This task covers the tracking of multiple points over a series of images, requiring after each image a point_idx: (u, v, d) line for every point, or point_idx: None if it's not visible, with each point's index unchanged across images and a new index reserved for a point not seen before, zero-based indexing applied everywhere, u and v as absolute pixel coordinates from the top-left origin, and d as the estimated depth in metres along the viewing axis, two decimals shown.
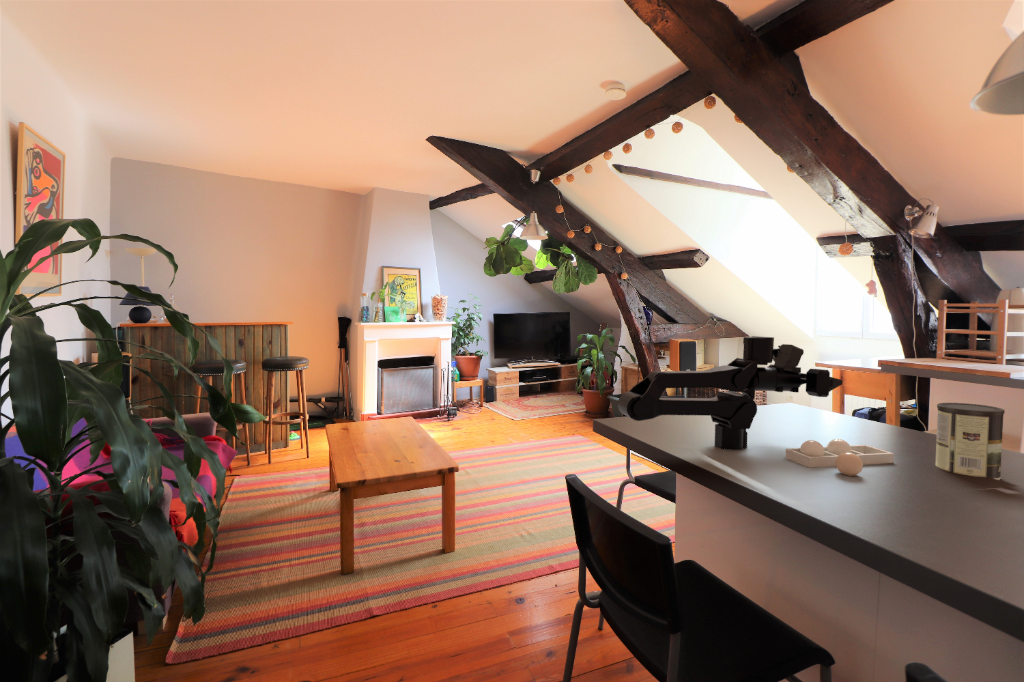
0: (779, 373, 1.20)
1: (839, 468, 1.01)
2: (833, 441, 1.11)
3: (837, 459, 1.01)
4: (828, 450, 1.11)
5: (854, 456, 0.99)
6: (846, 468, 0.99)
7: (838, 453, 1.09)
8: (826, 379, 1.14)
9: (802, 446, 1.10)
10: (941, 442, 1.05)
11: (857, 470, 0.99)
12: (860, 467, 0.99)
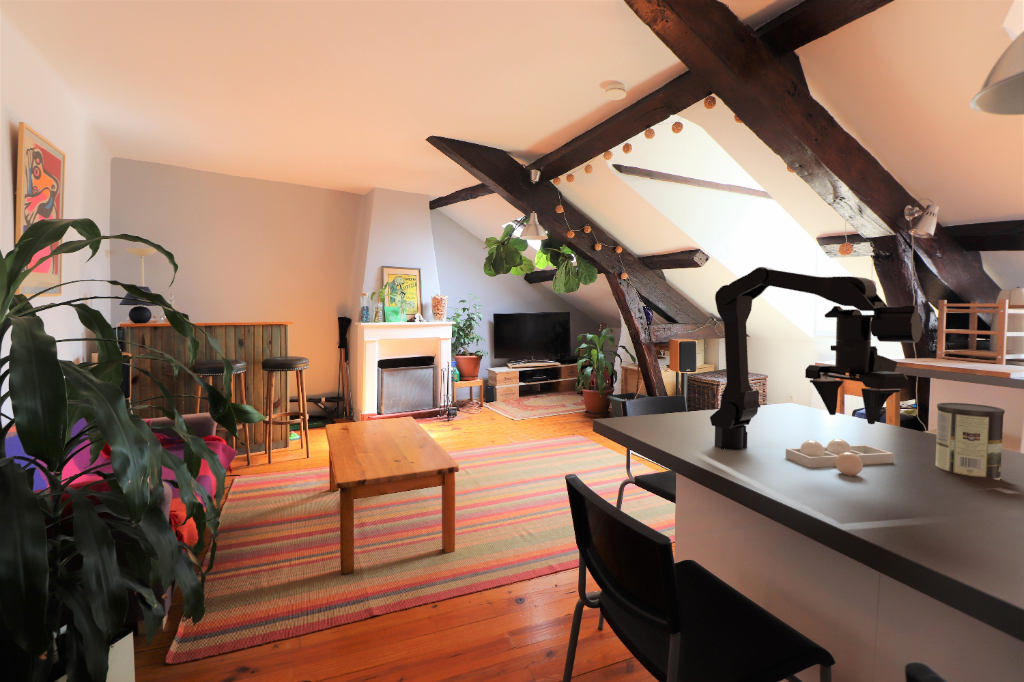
0: (870, 345, 0.98)
1: (839, 468, 1.01)
2: (833, 441, 1.11)
3: (837, 459, 1.01)
4: (828, 450, 1.11)
5: (854, 456, 0.99)
6: (846, 468, 0.99)
7: (838, 453, 1.09)
8: (900, 384, 0.91)
9: (802, 446, 1.10)
10: (941, 442, 1.05)
11: (857, 470, 0.99)
12: (860, 467, 0.99)
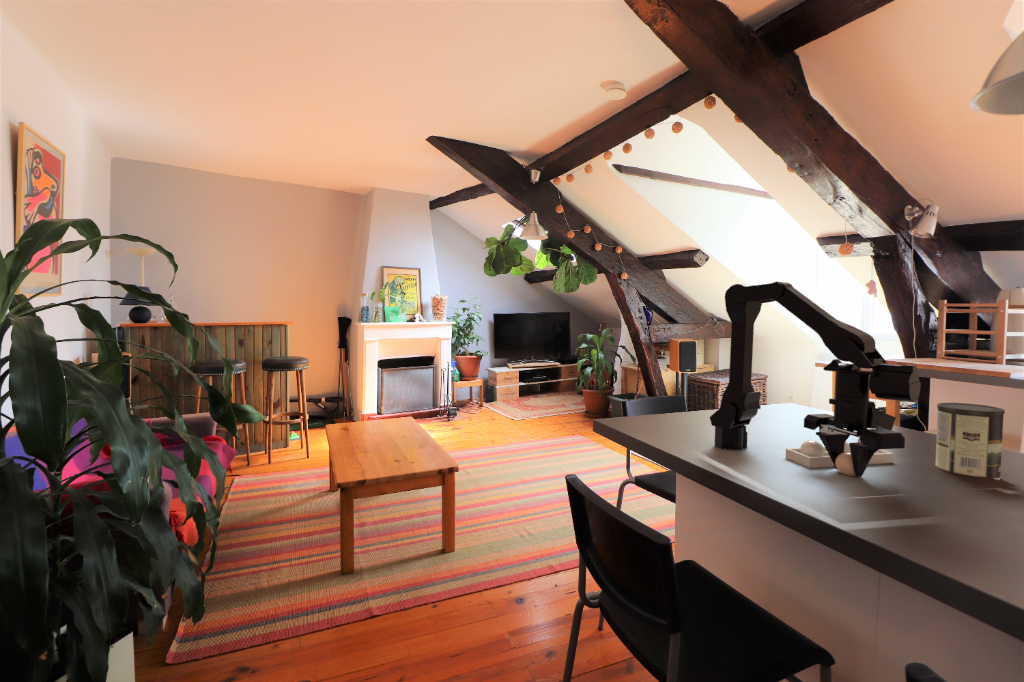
0: (868, 401, 0.98)
1: (839, 468, 1.01)
2: None
3: (837, 459, 1.01)
4: None
5: None
6: (846, 468, 0.99)
7: None
8: (897, 444, 0.91)
9: (802, 446, 1.10)
10: (941, 442, 1.05)
11: None
12: None
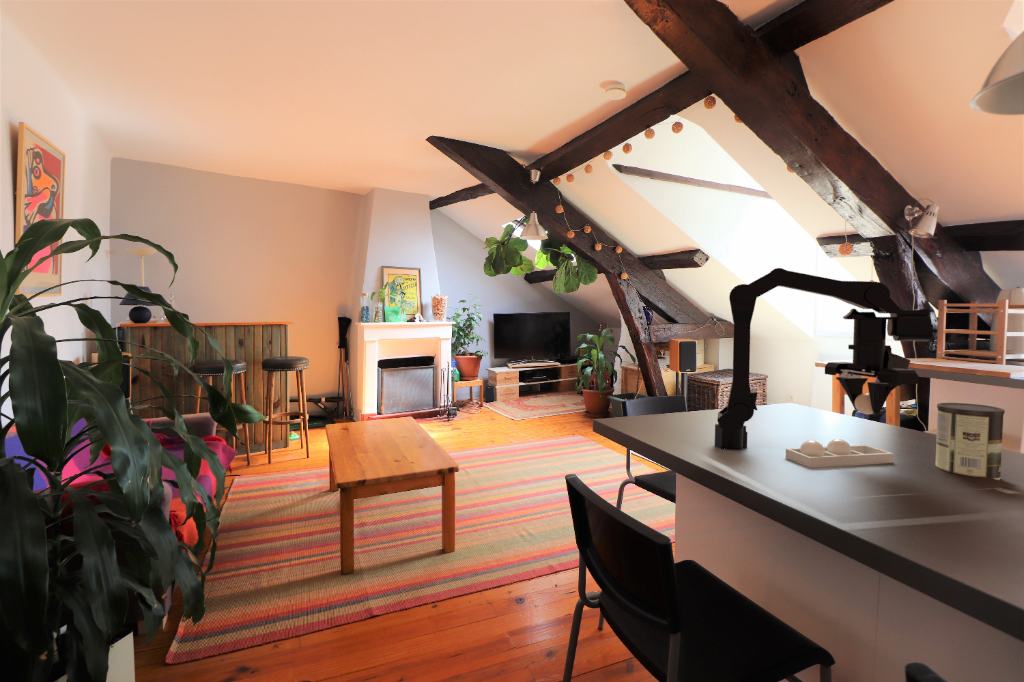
0: (885, 345, 1.08)
1: (858, 407, 1.10)
2: (833, 441, 1.11)
3: (856, 399, 1.11)
4: (828, 450, 1.11)
5: None
6: (864, 407, 1.09)
7: (838, 453, 1.09)
8: (911, 380, 1.01)
9: (802, 446, 1.10)
10: (941, 442, 1.05)
11: None
12: None
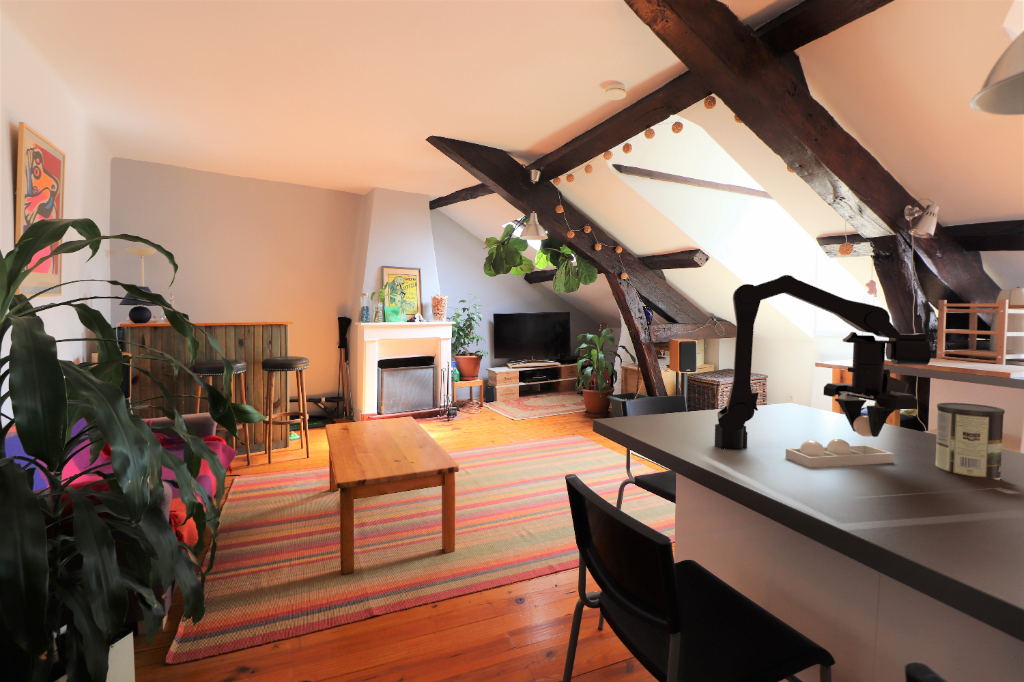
0: None
1: (857, 429, 1.11)
2: (833, 441, 1.11)
3: (855, 422, 1.12)
4: (828, 450, 1.11)
5: None
6: (863, 429, 1.10)
7: (838, 453, 1.09)
8: (910, 405, 1.02)
9: (802, 446, 1.10)
10: (941, 442, 1.05)
11: None
12: None
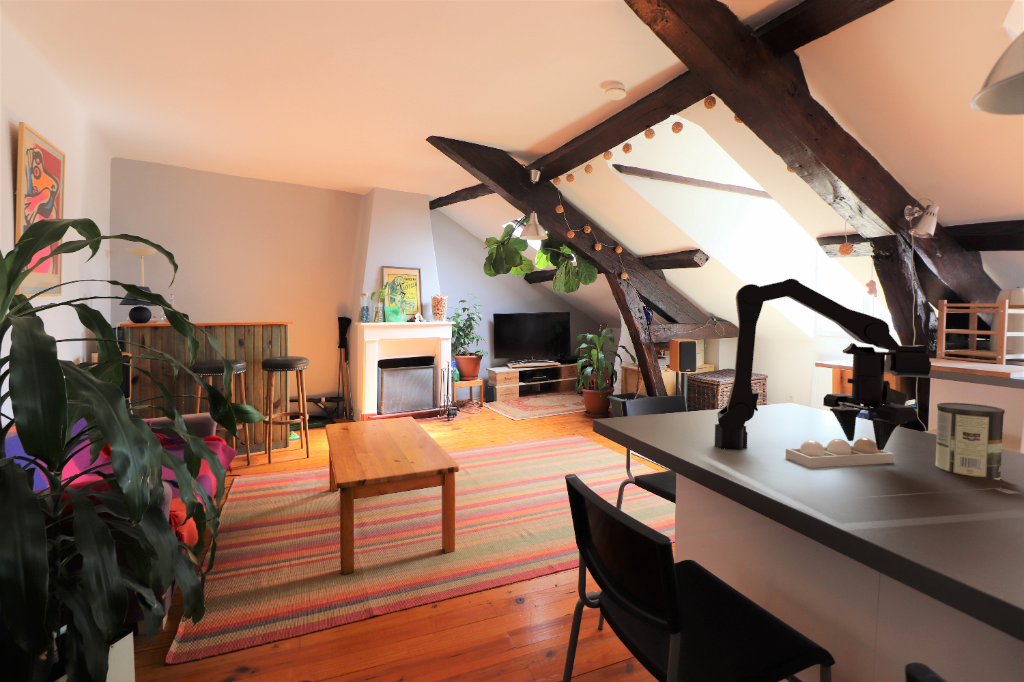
0: (883, 380, 1.09)
1: None
2: (833, 441, 1.11)
3: (855, 444, 1.12)
4: (828, 450, 1.11)
5: (871, 442, 1.10)
6: (863, 453, 1.10)
7: (838, 453, 1.09)
8: (910, 417, 1.02)
9: (802, 446, 1.10)
10: (941, 442, 1.05)
11: None
12: (876, 452, 1.10)
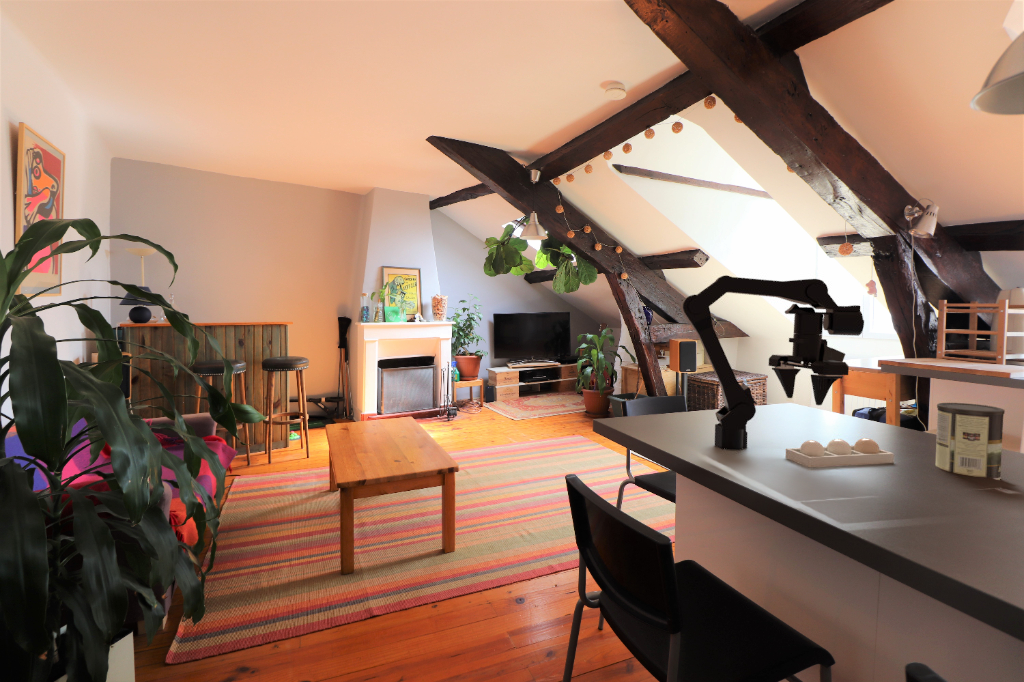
0: (821, 338, 1.14)
1: None
2: (833, 441, 1.11)
3: (857, 444, 1.12)
4: (828, 450, 1.11)
5: (873, 443, 1.10)
6: None
7: (838, 453, 1.09)
8: (841, 371, 1.08)
9: (802, 446, 1.10)
10: (941, 442, 1.05)
11: None
12: None
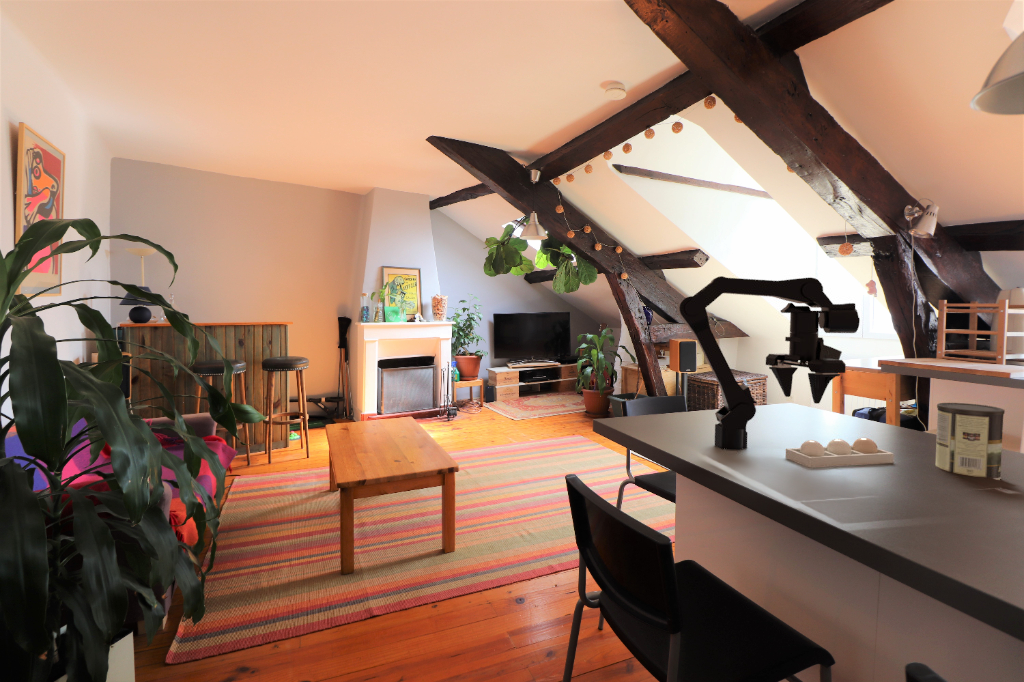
0: (817, 337, 1.15)
1: None
2: (833, 441, 1.11)
3: (854, 444, 1.12)
4: (828, 450, 1.11)
5: (870, 441, 1.10)
6: (862, 452, 1.10)
7: (838, 453, 1.09)
8: (838, 369, 1.08)
9: (802, 446, 1.10)
10: (941, 442, 1.05)
11: (872, 453, 1.10)
12: (875, 451, 1.10)
